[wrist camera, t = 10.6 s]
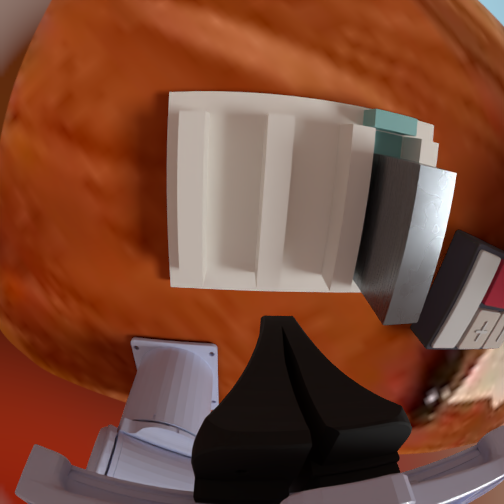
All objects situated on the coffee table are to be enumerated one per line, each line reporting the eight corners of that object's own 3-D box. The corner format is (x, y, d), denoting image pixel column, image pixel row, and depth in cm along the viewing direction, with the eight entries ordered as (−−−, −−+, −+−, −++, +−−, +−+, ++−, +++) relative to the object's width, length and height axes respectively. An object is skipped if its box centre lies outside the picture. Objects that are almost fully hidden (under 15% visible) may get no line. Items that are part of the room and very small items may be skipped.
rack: (397, 286, 24) (415, 307, 21) (173, 280, 23) (163, 304, 20) (426, 124, 19) (453, 126, 15) (172, 93, 18) (159, 87, 14)
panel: (375, 271, 22) (417, 322, 16) (347, 271, 22) (383, 325, 15) (396, 156, 19) (456, 173, 12) (365, 151, 18) (420, 164, 12)
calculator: (499, 352, 25) (428, 354, 22) (481, 333, 29) (407, 328, 26) (542, 274, 21) (485, 245, 18) (519, 258, 25) (455, 227, 22)
